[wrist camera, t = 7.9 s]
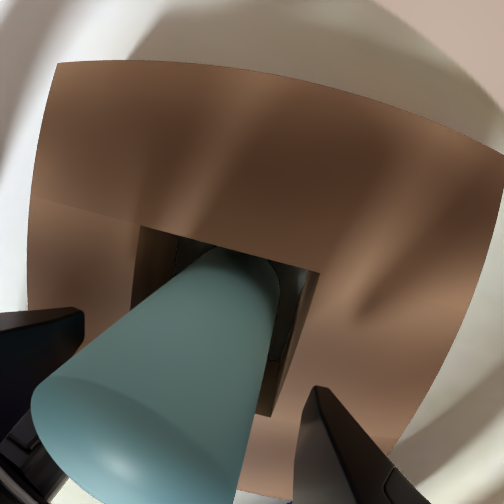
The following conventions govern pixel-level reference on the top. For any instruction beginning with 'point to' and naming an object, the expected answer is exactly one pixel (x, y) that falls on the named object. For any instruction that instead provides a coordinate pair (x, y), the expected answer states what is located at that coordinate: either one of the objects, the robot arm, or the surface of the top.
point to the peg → (167, 388)
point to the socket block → (267, 226)
